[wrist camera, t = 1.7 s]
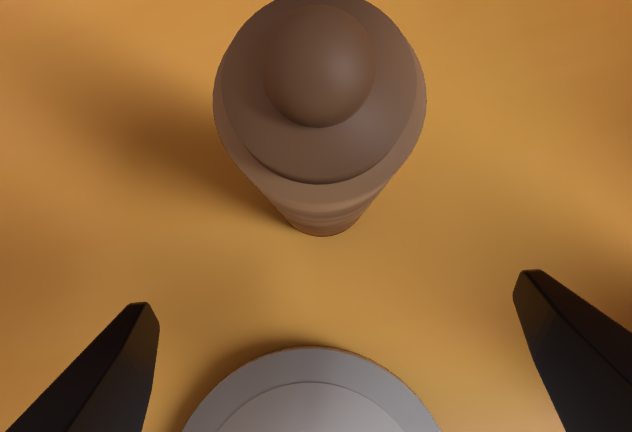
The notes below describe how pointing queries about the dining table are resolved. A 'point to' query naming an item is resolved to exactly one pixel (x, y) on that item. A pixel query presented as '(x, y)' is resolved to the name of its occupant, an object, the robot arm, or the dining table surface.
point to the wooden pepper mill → (319, 107)
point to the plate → (311, 396)
